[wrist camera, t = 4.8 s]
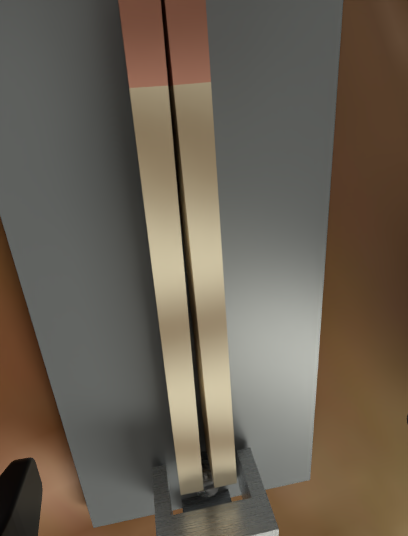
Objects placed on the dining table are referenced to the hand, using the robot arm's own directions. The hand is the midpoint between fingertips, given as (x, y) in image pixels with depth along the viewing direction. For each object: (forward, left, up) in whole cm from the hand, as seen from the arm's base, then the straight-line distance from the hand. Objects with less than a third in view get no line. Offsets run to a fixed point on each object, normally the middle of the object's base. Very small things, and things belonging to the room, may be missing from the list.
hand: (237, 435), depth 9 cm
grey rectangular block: (0, +13, -9) cm, 16 cm away
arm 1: (-1, 0, -9) cm, 9 cm away
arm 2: (+1, 0, -9) cm, 9 cm away
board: (0, +3, -11) cm, 11 cm away
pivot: (0, +14, -10) cm, 17 cm away
